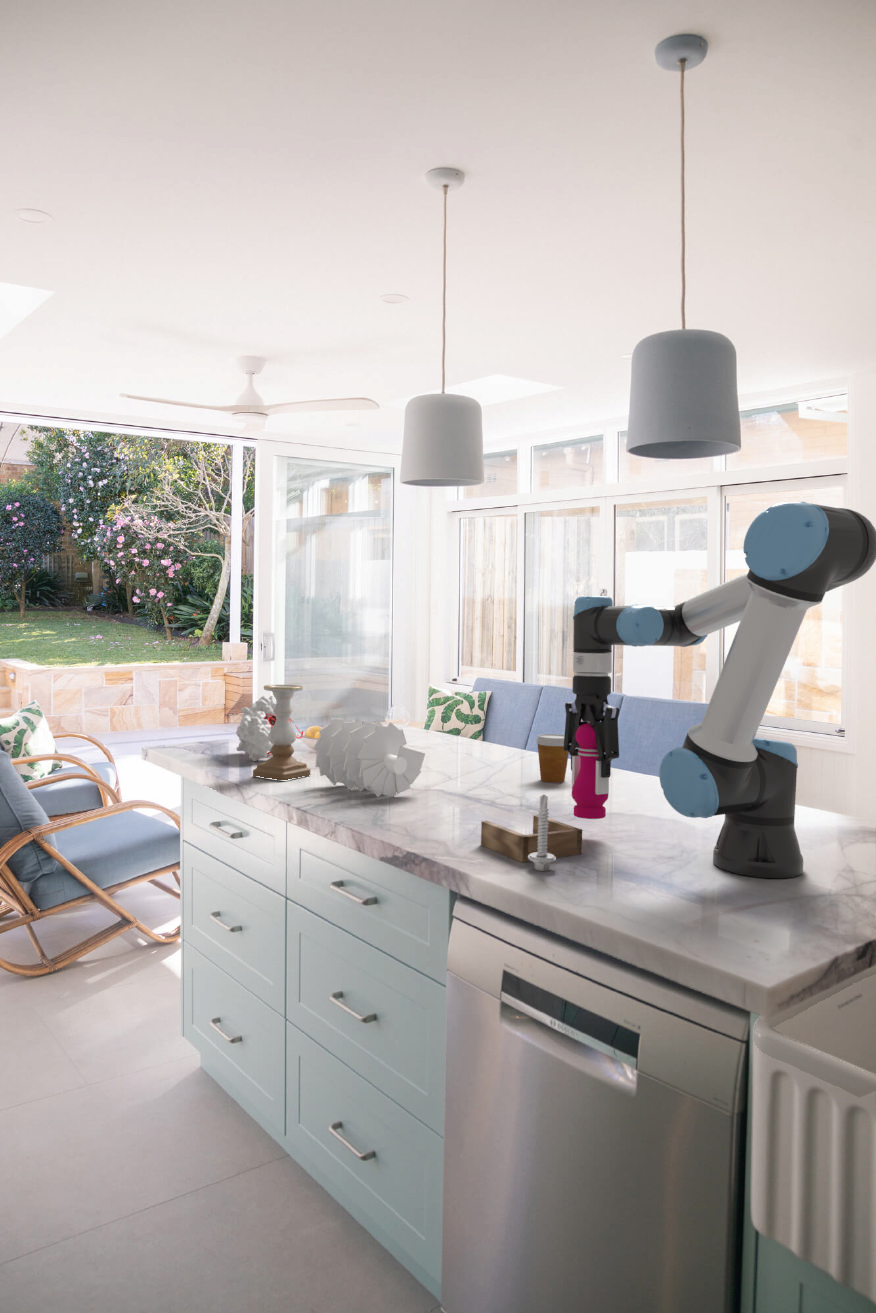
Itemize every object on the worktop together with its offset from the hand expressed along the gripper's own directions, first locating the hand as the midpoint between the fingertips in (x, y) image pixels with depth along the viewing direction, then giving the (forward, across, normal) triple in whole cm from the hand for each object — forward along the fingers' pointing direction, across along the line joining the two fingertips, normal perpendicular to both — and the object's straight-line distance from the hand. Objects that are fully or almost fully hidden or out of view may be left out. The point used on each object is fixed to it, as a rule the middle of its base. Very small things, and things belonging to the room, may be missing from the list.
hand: (589, 790), depth 176 cm
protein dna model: (+7, -118, -25) cm, 121 cm away
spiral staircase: (+8, -60, -20) cm, 64 cm away
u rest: (+9, +2, -16) cm, 19 cm away
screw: (+10, +14, -22) cm, 28 cm away
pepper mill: (+5, 0, 0) cm, 5 cm away
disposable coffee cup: (+8, -53, +32) cm, 62 cm away
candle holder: (+8, -86, -32) cm, 92 cm away
